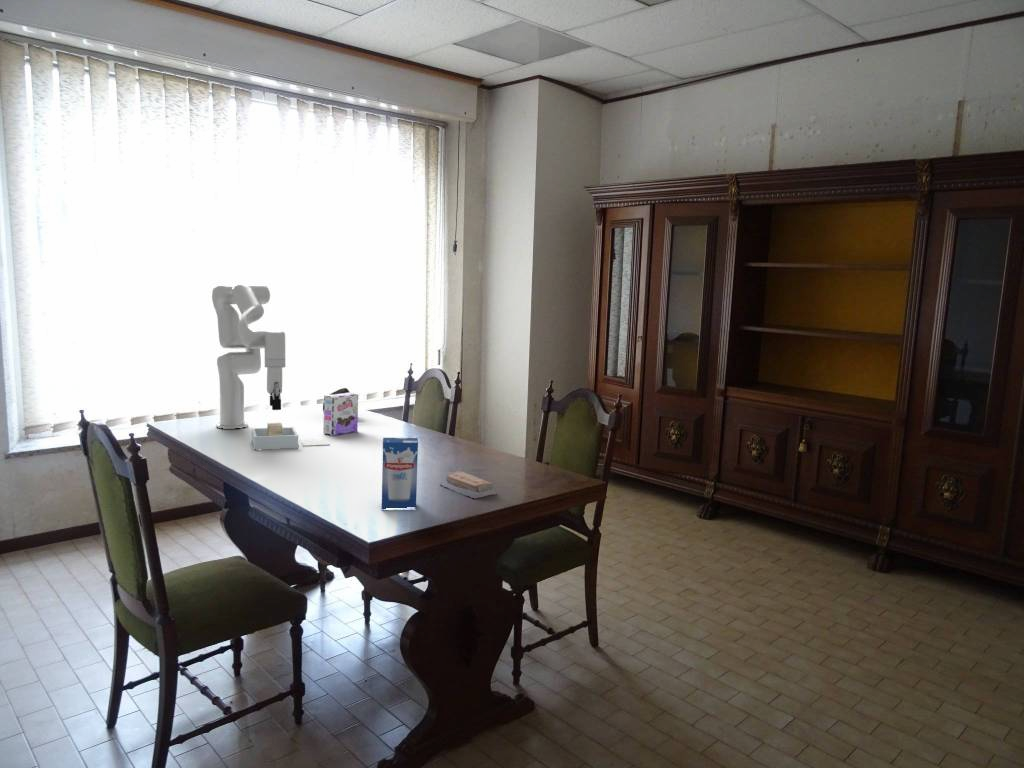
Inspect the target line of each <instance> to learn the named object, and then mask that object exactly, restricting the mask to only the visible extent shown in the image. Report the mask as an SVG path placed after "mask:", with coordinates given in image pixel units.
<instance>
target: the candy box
mask: <svg viewBox="0 0 1024 768" xmlns="http://www.w3.org/2000/svg"><path fill="white" fill-rule="evenodd" d="M323 399H324V400H323V403H324V412H323V434H324V435H327V436H332V437H333V436H339V435H345V434H346V435H347V434H352V433H356V432H358V421H359V420H358V415H359V414H358V413H359V394H358V393H354V392H353V393H352V392H350V393H343V394H334V395H330V394H326V395H324V396H323ZM351 432H352V433H351Z"/></svg>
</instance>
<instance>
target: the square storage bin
mask: <svg viewBox="0 0 1024 768" xmlns="http://www.w3.org/2000/svg"><path fill="white" fill-rule="evenodd" d="M251 443H252V445H254V446H253V449H254V450H255V449H256V450H255V451H258V450H257V449H272V450H281V449H280V448H294V449H299V434H298V432H297V431H296V429H295V427H293V426H289V427H288V426H287V427H283V426H282V436H267V427H259V428H255V427H254V428H251Z"/></svg>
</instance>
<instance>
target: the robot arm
mask: <svg viewBox="0 0 1024 768" xmlns="http://www.w3.org/2000/svg"><path fill="white" fill-rule="evenodd" d="M211 293H212V295H211V300H212V303H213V304H212V305H213V308H214V311H215V313H216V316H217V328H218V329H217V330H218V340H219V344H220V346H221V347H222V348H223V349H229V350H233V349H234V350H235V349H236V350H237V349H238V350H239V349H240V350H241V349H243V350H244V349H245V351H230V352H229V351H228V352H223V353H221V354H220V355H219V356H218V357H217V359H216V365H217V371H218V377H219V422H217V423H216V424H215V426H216V428H217V427H218V428H217V429H221V428H223V430H236V429H235V428H240V429H244V428H243V427H245V428H247V427H249V423H248V422H247V421H245V386H244V383H243V381H242V380H241V378H240V376H239V375H253V374H257V373H259V371H261V367H262V359H261V349H264V368H266V370H267V371H266V392H267V393H268V394H269V406H270V407H271V410H272V411H280V410H281V409H282V398H281V394H282V392H283V368H286V334H285V331H282V330H279V329H275V328H255V327H254V326H250V324H252V323H255V322H257V321H259V320H260V319H261V318H262V317H263V316H264V314H265V313H264V312H265V309H264V307H263V305H266V304H267V303H269V301H270V300H271V293H270V289H269V287H268V286H267V285H266V284H264V283H260V282H257V283H256V282H239V283H220V284H217V285H214V287H213V288H212V291H211ZM233 305H236V306H237V308H238V310H239V312H240V315H241V316H240V315H239V312H238V311H237V310H236V309H235V308H234V306H233Z"/></svg>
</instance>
